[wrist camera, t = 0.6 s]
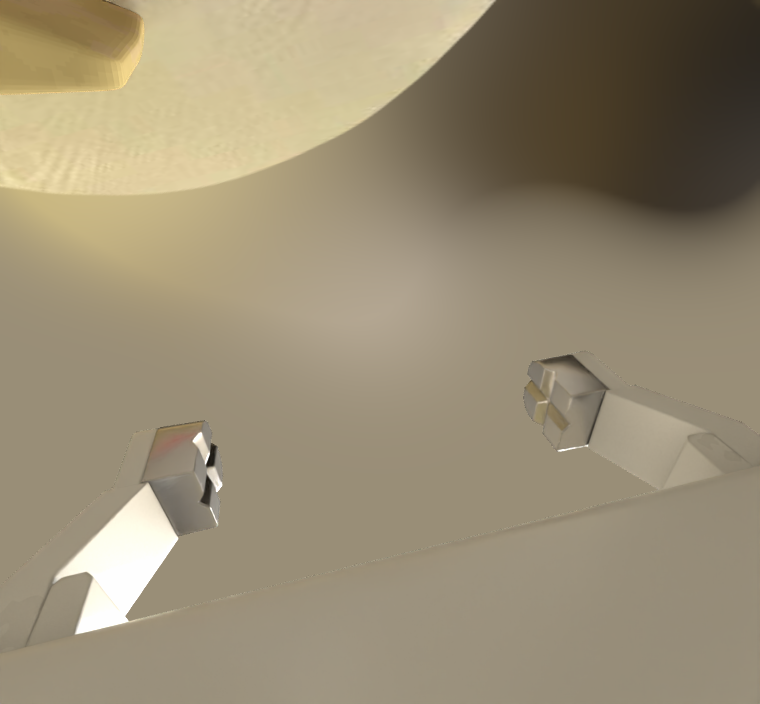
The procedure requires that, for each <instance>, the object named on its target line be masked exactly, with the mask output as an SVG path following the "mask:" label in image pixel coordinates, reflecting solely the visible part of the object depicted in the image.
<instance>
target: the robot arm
mask: <svg viewBox="0 0 760 704" xmlns="http://www.w3.org/2000/svg"><path fill="white" fill-rule="evenodd" d="M528 376H529V377H530V379H531V381H530V382H529V383H528V385H527V386H526V387H525V390H524V396H523V399H524V404H525V408H526V411H527V413H528V415H529V416H530V417H531V419H532V420H533V421H534V422H536V423H538V424H540V425H542V426H543V435H544V436H545V437H546V438H547V440H548V441H549V442H550V443H551V445H552V446H553V447H554V449H555V450H556V451H557V452H558V451H563V450H569V449H574V448H578V447H584V446H588V448H589V449H591V450H593V451H594V452H596V453H598V454H599V455H601V456H603V457H604V458H606V459H608V460H609V461H611V462H613V463H614V464H616V465H618V466H619V467H621V468H623V469H625V470H626V471H628V472H630V473H631V474H633V475H635V476H636V477H638V478H640V479H641V480H643V481H645V482H646V483H648V484H650V485H652V486H653V487H655V488H657V489H658V491H653V492H649V493H645V494H641V495H637V496H633V497H629V498H626V499H621V500H617V501H613V502H609V503H605V504H601V505H597V506H593V507H589V508H585V509H581V510H577V511H573V512H569V513H565V514H560V515H557V516H552V517H548V518H544V519H541V520H537V521H533V522H528V523H524V524H520V525H516V526H512V527H508V528H505V529H500V530H496V531H492V532H488V533H484V534H480V535H476V536H472V537H468V538H464V539H460V540H456V541H452V542H447V543H443V544H440V545H436V546H431V547H427V548H423V549H419V550H415V551H411V552H407V553H403V554H399V555H395V556H391V557H387V558H383V559H379V560H375V561H370V562H366V563H362V564H358V565H354V566H351V567H346V568H342V569H338V570H334V571H330V572H326V573H322V574H318V575H314V576H310V577H306V578H302V579H298V580H294V581H290V582H286V583H282V584H278V585H273V586H269V587H266V588H262V589H258V590H253V591H249V592H246V593H242V594H237V595H233V596H229V597H225V598H221V599H217V600H213V601H209V602H205V603H201V604H197V605H193V606H189V607H185V608H181V609H177V610H172V611H169V612H165V613H160V614H156V615H152V616H149V617H144V618H140V619H137V620H133V621H128V620H127V619H126V617H125V615H126V614H127V612H128V611H129V609H130V608H131V606H132V605H133V603H134V602H135V601H136V599H137V598H138V596H139V595H140V593H141V592H142V590H143V589H144V587H145V586H146V585H147V583H148V582H149V580H150V579H151V577H152V576H153V574H154V573H155V572H156V570H157V569H158V567H159V566H160V564H161V563H162V561H163V560H164V558H165V557H166V556H167V554H168V553H169V551H170V550H171V548H172V547H173V546H174V544H175V543H176V541H177V540H178V536H182V535H185V534H190V533H194V532H198V531H202V530H205V529H210V528H214V527H218V519H219V510H220V499H219V497H218V494H217V491H218V490H219V489H220V487H221V486H222V479H223V471H222V461H221V457H220V453H219V450H218V447H217V446H216V445H214V444H212V443H211V438H212V431H211V429H210V426H209V424H208V422H207V421H205V420H204V421H197V422H192V423H185V424H179V425H172V426H166V427H160V428H156V429H149V430H143V431H137V432H136V433H134V434H133V435H132V437H131V439H130V442H129V445H128V447H127V450H126V453H125V456H124V458H123V461H122V464H121V467H120V469H119V472H118V475H117V478H116V480H115V483H114V486H113V489H110V490H105V491H104V492H103V493H102V494H101V495H100V496H98V497H97V498H96V499H95V500H94V501H93V502H92V503H91V504H90V505H89V506H87V507H86V508H85V509H84V510H83V511H82V512H81V513H80V514H79V515H77V517H75V518H74V519H73V520H72V521H71V522H70V523H69V524H68V525H66V526H65V527H64V528H63V529H62V530H61V531H60V532H59V533H58V534H57V535H55V536H54V537H53V538H52V539H51V540H50V541H49V542H48V543H47V544H45V545H44V546H43V547H42V548H41V549H40V550H39V551H38V552H37V553H36V554H34V555H33V557H31V558H30V559H29V560H28V561H27V562H26V563H25V564H23V565H22V566H21V567H20V568H19V569H18V570H17V571H16V572H15V573H14V574H12V575H11V576H10V577H9V578H8V579H7V580H6V581H5V582H3V583H2V584H1V585H0V704H760V435H759V434H757V433H756V432H755V431H753V430H752V429H751V428H749V427H748V426H747V425H745V424H744V423H742V422H740V421H737V420H734V419H731V418H729V417H725V416H723V415H720V414H717V413H714V412H711V411H708V410H706V409H703V408H700V407H697V406H694V405H691V404H688V403H686V402H683V401H680V400H677V399H674V398H671V397H668V396H665V395H663V394H660V393H657V392H654V391H651V390H648V389H645V388H642V387H640V386H637V385H633V386H630V385H628V384H627V383H626V382H625V381H624V380H622V379H621V378H620V377H619V376H618V375H617V374H615V373H614V372H613V371H612V370H611V369H610V368H608V367H607V366H606V365H605V364H604V363H602V362H601V361H600V360H599V359H598V358H597V357H595V356H594V355H593V354H592V353H590V352H588V351H581V352H576V353H571V354H567V355H563V356H559V357H553V358H548V359H542V360H537V361H532V363H531V364H530V365H529V369H528Z"/></svg>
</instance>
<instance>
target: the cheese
mask: <svg viewBox="0 0 760 704" xmlns="http://www.w3.org/2000/svg"><path fill="white" fill-rule="evenodd" d="M143 41H144V23H143V20H142V18H141V16H139V15H138V14H136V13H134V12H132V11H130V10H127V9H125V8H122V7H119V6H116V5H114V4H111V3H108V2H106V1H103V0H0V95H11V94H42V93H63V92H88V91H108V90H116V89H120V88H121V87H123V86H124V85H125V84H126V82H127V81H128V79H129V77H130V75H131V73H132V72H133V70H134V69H135V67H136V65H137V64H138V62H139V60H140V58H141V54H142V49H143Z"/></svg>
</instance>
